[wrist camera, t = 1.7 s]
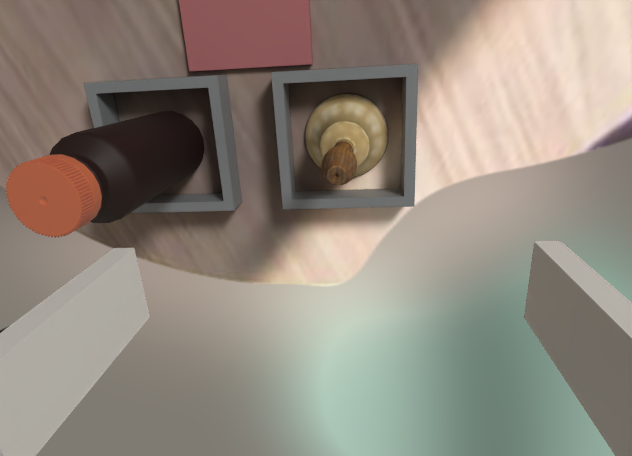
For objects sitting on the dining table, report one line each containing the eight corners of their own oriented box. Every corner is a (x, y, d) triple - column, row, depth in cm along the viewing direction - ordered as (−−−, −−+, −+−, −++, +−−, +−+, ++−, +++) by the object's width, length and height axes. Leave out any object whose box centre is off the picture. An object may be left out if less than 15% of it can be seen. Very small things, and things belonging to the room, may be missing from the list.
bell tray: (276, 71, 41) (271, 72, 38) (414, 64, 40) (418, 63, 37) (287, 200, 46) (282, 209, 43) (410, 197, 44) (414, 206, 42)
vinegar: (166, 96, 43) (20, 120, 24) (218, 142, 44) (117, 199, 26) (130, 145, 45) (-29, 202, 27) (181, 188, 46) (63, 271, 28)
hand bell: (334, 191, 45) (322, 254, 30) (289, 124, 43) (253, 156, 28) (403, 149, 43) (428, 193, 28) (359, 76, 41) (361, 82, 26)
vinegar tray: (101, 81, 43) (83, 83, 40) (226, 74, 42) (217, 75, 39) (128, 204, 48) (113, 213, 45) (241, 201, 46) (234, 210, 43)
